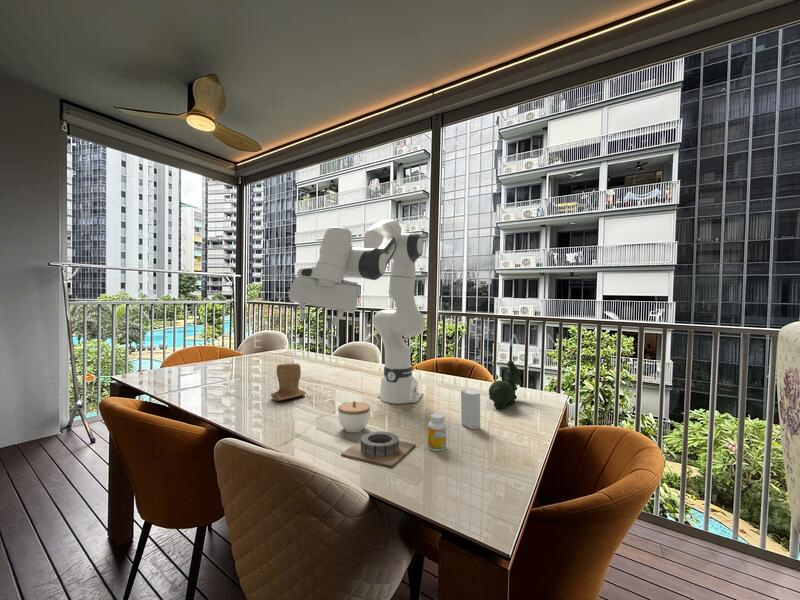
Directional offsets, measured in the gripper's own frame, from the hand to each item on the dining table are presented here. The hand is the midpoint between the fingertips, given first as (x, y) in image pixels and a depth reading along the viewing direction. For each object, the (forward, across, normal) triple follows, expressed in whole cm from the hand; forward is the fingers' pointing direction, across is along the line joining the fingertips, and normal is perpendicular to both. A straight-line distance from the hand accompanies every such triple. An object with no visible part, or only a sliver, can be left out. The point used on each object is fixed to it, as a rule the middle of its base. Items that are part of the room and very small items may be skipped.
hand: (318, 322), depth 110 cm
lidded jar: (+31, -15, -23) cm, 42 cm away
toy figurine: (+15, -72, -53) cm, 91 cm away
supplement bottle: (+30, -41, -9) cm, 52 cm away
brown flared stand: (+29, +20, -58) cm, 68 cm away
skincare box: (+24, -54, -28) cm, 65 cm away
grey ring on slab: (+33, -25, -6) cm, 42 cm away
